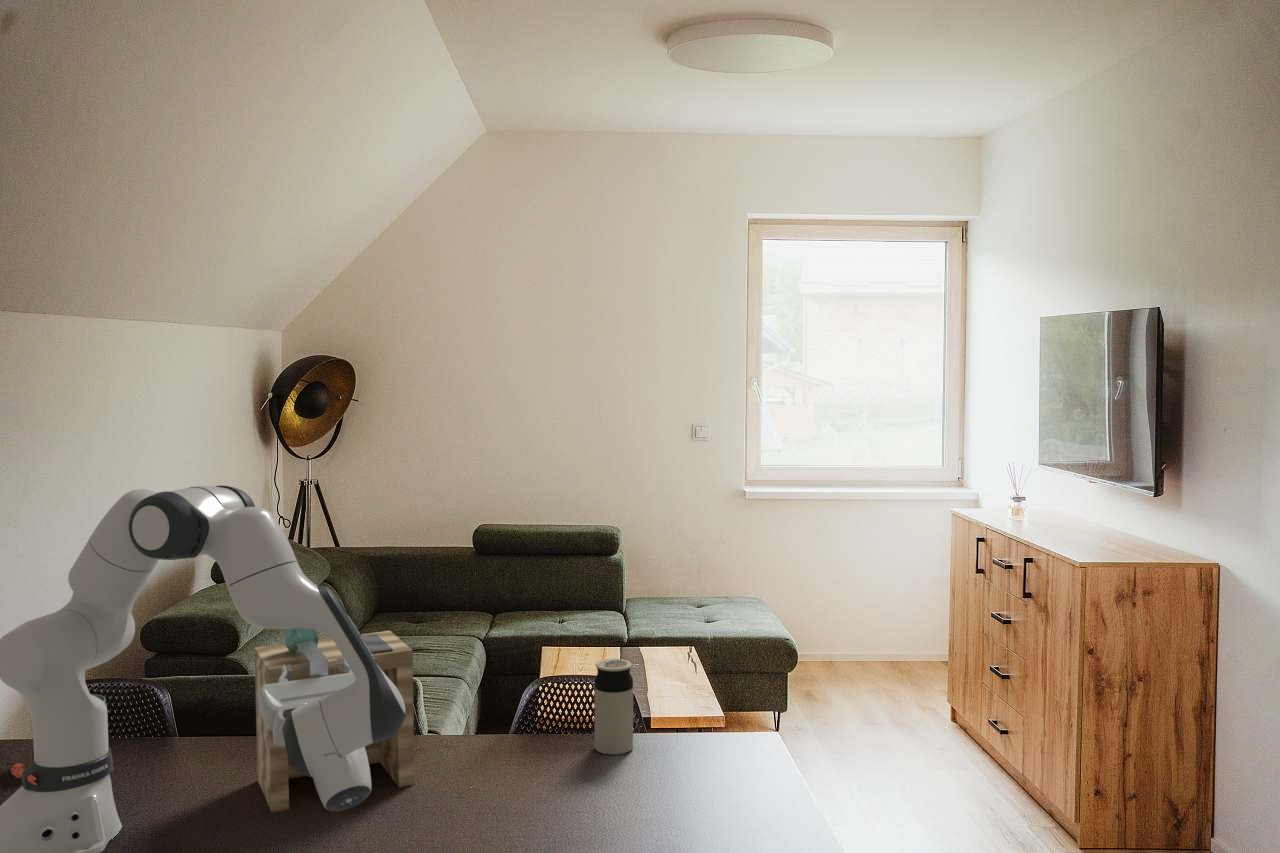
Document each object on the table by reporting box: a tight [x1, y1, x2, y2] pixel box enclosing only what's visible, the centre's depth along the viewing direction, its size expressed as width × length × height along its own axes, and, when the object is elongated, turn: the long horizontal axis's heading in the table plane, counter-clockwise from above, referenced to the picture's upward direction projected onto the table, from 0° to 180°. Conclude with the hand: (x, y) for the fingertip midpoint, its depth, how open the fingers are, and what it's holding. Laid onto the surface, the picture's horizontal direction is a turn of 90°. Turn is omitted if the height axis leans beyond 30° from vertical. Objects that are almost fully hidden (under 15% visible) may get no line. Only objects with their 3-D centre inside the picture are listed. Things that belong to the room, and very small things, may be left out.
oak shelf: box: [254, 630, 415, 813], centre depth 199 cm, size 16×26×26 cm, turn 119°
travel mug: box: [594, 658, 634, 756], centre depth 216 cm, size 8×8×18 cm
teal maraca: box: [281, 629, 328, 678], centre depth 189 cm, size 20×6×6 cm, turn 29°
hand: (314, 663), depth 184 cm, fingers open, 8 cm apart
